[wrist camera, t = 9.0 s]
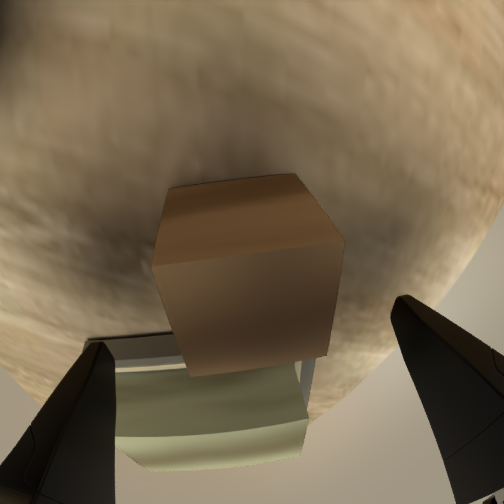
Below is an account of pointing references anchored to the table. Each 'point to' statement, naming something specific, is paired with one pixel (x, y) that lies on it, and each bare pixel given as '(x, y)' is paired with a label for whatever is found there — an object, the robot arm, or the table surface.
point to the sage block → (210, 418)
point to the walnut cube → (247, 273)
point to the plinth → (175, 358)
